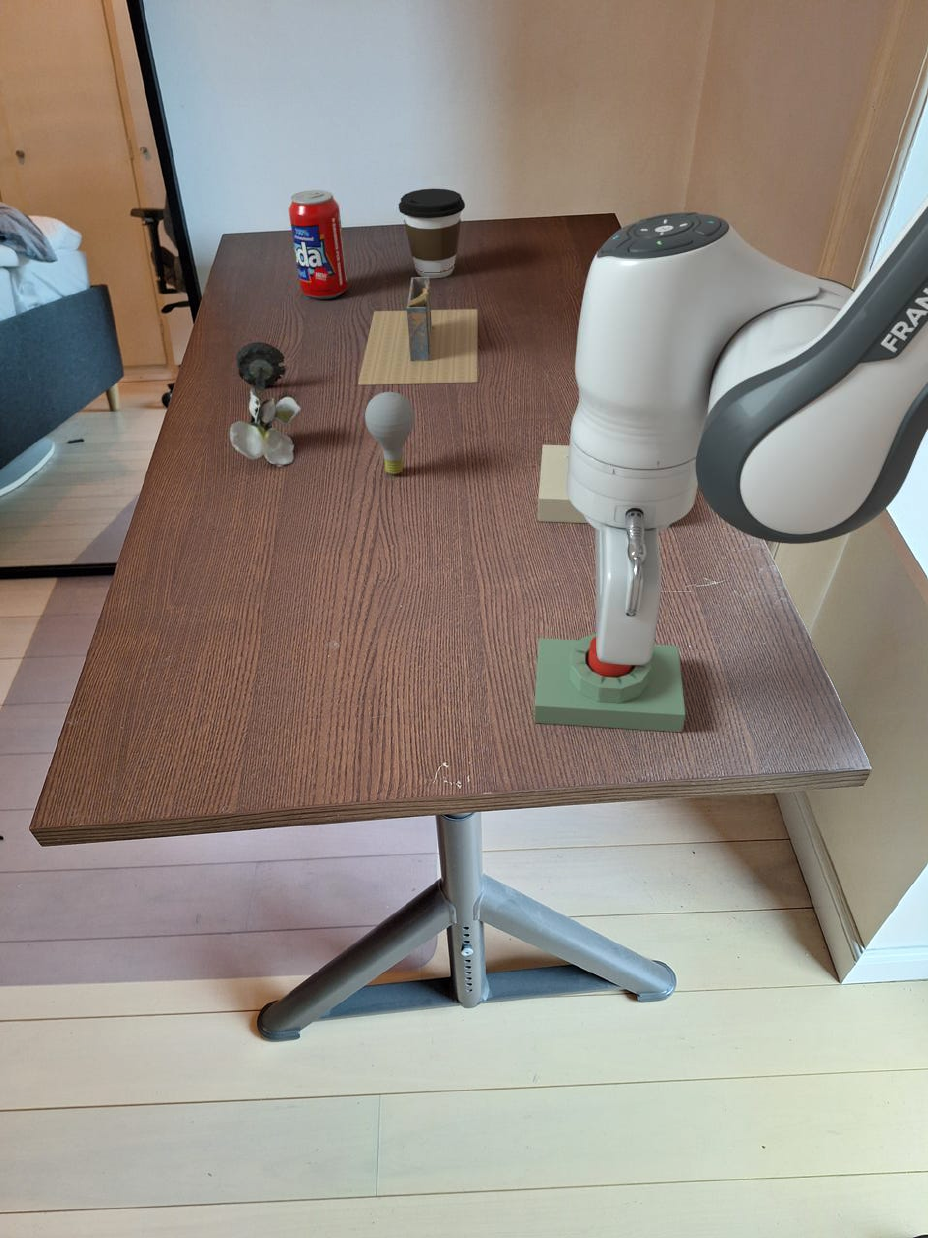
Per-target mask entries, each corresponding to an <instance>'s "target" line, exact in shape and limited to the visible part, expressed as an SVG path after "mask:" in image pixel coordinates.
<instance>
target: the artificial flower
mask: <svg viewBox="0 0 928 1238" xmlns="http://www.w3.org/2000/svg"><path fill="white" fill-rule="evenodd" d="M285 358H286V356H285V355H284V354H283V352H281V351H280V349H278V348H277V347H276V346H273V345H272V344H269V343H267V342H262V341H258V342H257V341H256V342H251V343H248V344H246V345H245V346H243V347H242V348H241V349H240V350H238V352H237V354H236V358H235V360H236V365H237V369H238V370H237V374H238V376H239V377H240V378H241V380H243V381H244V382H246V383H247V384H248V385H250V386H253V387H250V390H249V391H250V392H249V393H250V400H249V403H248V410H249V413H250V414H251V415H250V421H249V422H248V423H247V422H245V421H243V420H242V421H239V420H238V421H234V422H233V423H232V424H231V425H230V429H229V439H230V443H231V445H232V447H234V449H235V450H236V451H237V452H238V453H240V454H241V455H243V456H245V457H246V458H247V459H248V460H257V459H259V458H261V457H262V456H264V458H265V459H266V460H267V462H269V463H270V464H272V465H276V467H279V468H281V467H282V468H283V467H284V466H285V465H291V463H293V461H294V458H295V456H294V452H293V451H294V448H295V445H294V443H293V441H292V439H291V437H290V436H289V435H288V434H285V433H283V432H282V431H280V430H278V427H277V428H276V427H273V424H274V422H276V423H277V424H278V425H279V426H282V427H287V426H288V425H290V424H292V422H293V420H294V419H295V417H296V415H297V414H298V413H299V412H300V411H301V410H302V408H301V406H299V405H298V403H297V402H296V400H295V399H294V398H293V397H291V396H285V397H283V398H281V399H280V400H279V401H278V402H277V403H275V398H274V397H271V399H268V398H267V399H265V400H263V402H262V403H261V399H262V393H263V392H264V390H265V388H266V386H274V385H275V384H276V383H277V382H278V381H279V380H281V379H282V378H283V376H285V374H286V372H287V369H286V366H285V365H282V366H280V364H282V363H283V364H284V363H285ZM254 387H255V388H257V392H256V391H255V388H254Z"/></svg>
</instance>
